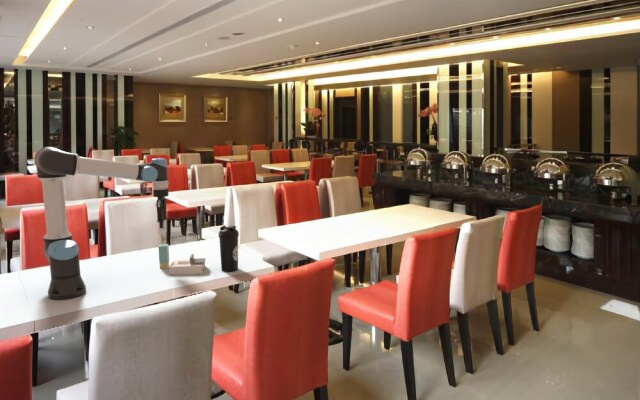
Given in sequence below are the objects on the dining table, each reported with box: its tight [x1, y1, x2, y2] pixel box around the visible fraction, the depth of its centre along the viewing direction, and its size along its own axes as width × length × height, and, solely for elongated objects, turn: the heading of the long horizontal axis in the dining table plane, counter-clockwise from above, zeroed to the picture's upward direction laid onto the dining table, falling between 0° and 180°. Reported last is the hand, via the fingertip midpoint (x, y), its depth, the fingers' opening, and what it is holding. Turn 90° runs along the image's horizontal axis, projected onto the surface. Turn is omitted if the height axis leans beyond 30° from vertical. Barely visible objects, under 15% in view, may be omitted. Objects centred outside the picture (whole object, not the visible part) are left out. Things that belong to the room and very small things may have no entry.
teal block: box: [158, 243, 170, 269], centre depth 255 cm, size 4×4×12 cm
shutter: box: [189, 253, 206, 264], centre depth 251 cm, size 7×7×3 cm
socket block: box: [168, 258, 206, 275], centre depth 251 cm, size 16×12×4 cm
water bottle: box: [218, 225, 240, 273], centre depth 251 cm, size 10×10×23 cm
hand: (163, 233), depth 253 cm, fingers open, 3 cm apart
